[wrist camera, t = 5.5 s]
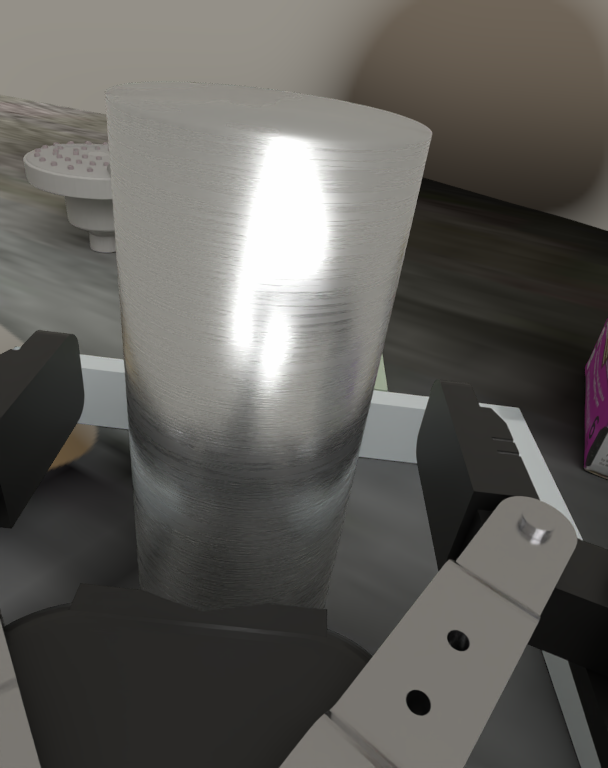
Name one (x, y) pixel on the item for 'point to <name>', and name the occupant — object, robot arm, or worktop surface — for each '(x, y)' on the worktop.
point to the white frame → (388, 442)
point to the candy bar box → (597, 408)
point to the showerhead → (78, 186)
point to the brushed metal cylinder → (252, 324)
